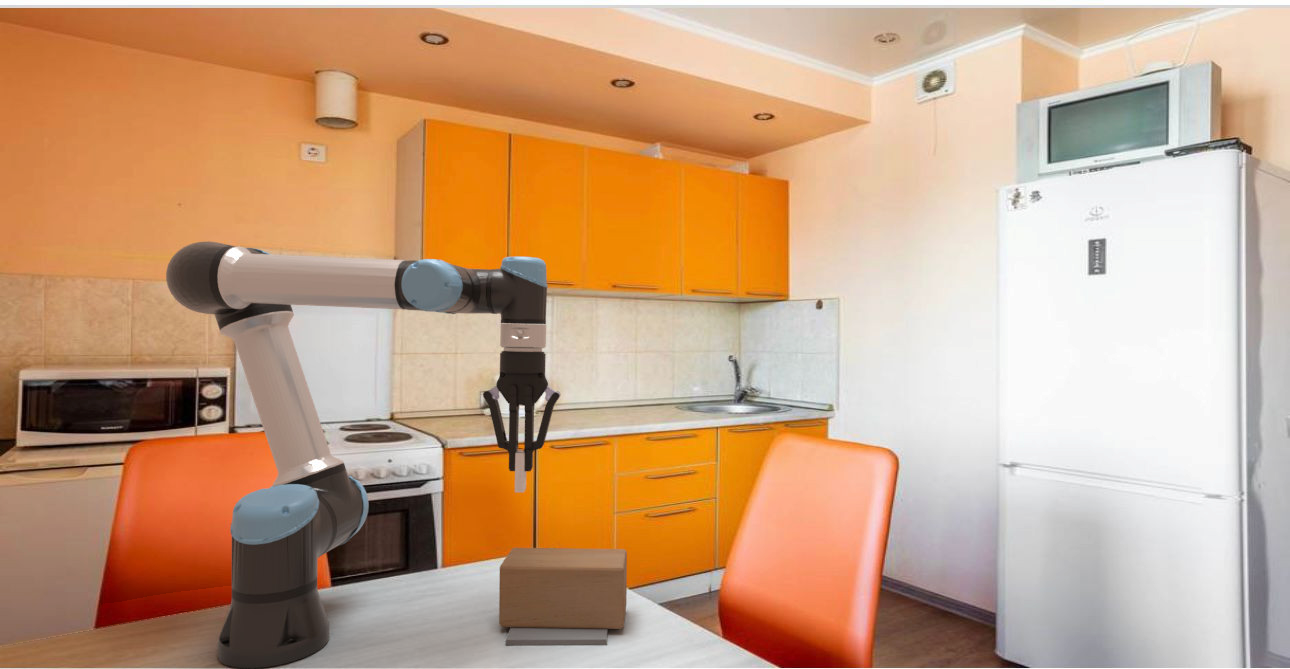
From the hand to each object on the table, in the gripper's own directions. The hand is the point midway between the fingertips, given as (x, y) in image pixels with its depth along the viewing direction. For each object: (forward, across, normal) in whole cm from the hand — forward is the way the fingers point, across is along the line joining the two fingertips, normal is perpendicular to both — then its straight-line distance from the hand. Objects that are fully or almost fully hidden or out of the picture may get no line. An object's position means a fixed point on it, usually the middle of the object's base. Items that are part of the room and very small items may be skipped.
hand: (520, 490), depth 120 cm
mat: (+22, +7, 0) cm, 23 cm away
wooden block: (+16, -2, -1) cm, 16 cm away
